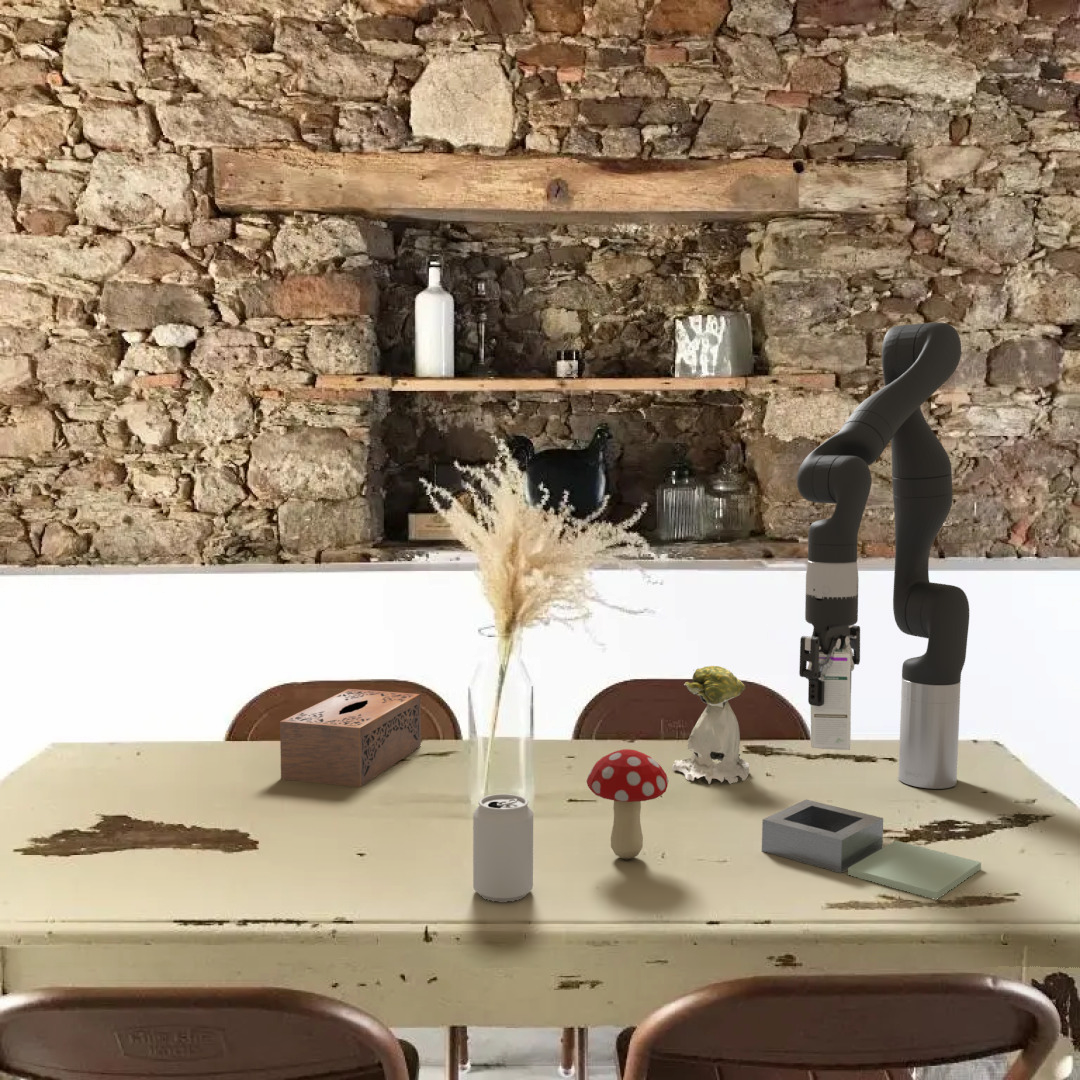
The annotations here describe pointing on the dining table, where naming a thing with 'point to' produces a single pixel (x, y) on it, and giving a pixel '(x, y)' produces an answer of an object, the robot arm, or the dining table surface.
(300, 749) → the tissue box cover
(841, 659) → the syrup box
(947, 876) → the green mat
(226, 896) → the dining table surface
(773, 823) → the steel socket
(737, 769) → the yellow capped mushroom
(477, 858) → the can
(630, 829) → the decorative mushroom
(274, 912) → the dining table surface
